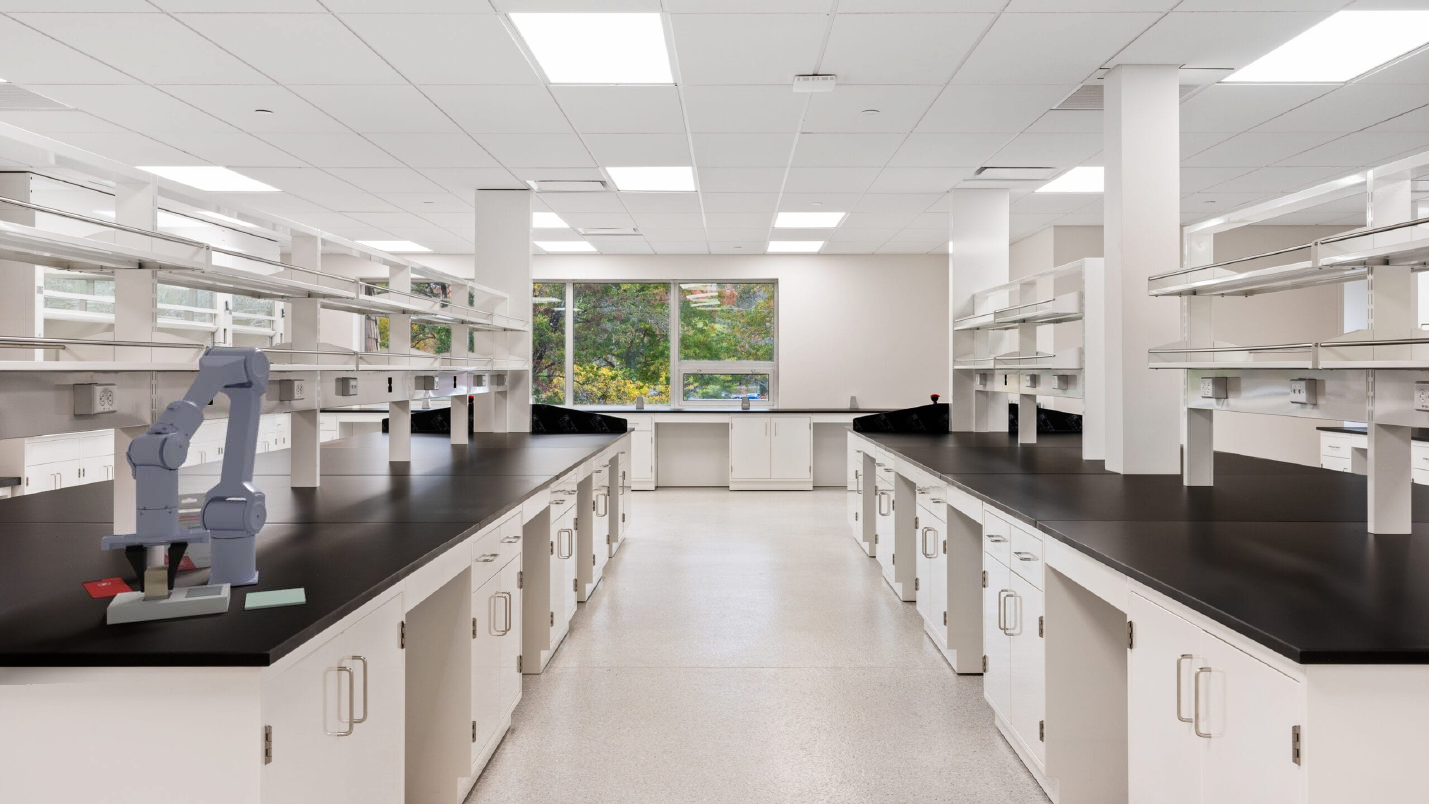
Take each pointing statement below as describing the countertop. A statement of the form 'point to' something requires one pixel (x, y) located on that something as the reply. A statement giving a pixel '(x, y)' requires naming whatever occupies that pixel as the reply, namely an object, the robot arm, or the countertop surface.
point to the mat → (274, 598)
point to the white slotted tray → (169, 604)
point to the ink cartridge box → (189, 520)
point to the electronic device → (106, 587)
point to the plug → (156, 583)
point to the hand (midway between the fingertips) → (157, 590)
